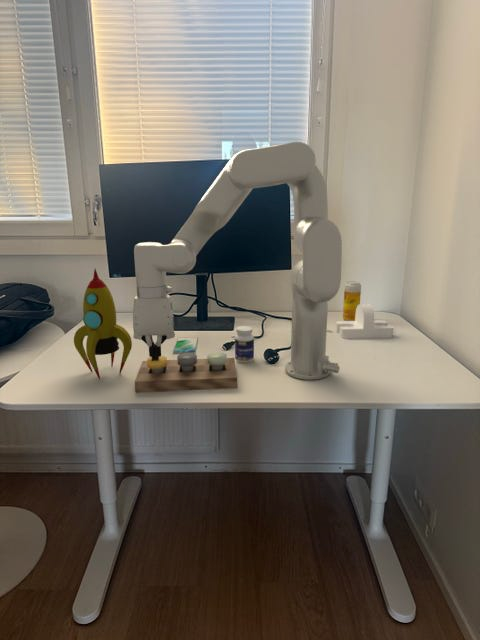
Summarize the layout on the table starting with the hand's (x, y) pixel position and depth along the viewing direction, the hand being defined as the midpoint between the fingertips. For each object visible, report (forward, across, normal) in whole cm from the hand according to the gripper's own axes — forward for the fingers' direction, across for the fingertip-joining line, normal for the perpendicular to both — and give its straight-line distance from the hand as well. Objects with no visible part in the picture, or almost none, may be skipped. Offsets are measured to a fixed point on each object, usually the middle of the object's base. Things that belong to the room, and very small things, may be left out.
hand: (155, 358), depth 117 cm
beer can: (+6, -69, -50) cm, 86 cm away
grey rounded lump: (+4, -8, 0) cm, 9 cm away
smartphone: (+7, -7, -27) cm, 29 cm away
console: (+6, -8, 0) cm, 10 cm away
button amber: (+5, 0, 0) cm, 5 cm away
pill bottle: (+6, -25, -13) cm, 29 cm away
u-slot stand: (+6, -69, -34) cm, 77 cm away
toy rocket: (+7, +15, -7) cm, 18 cm away
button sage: (+4, -16, 0) cm, 17 cm away
